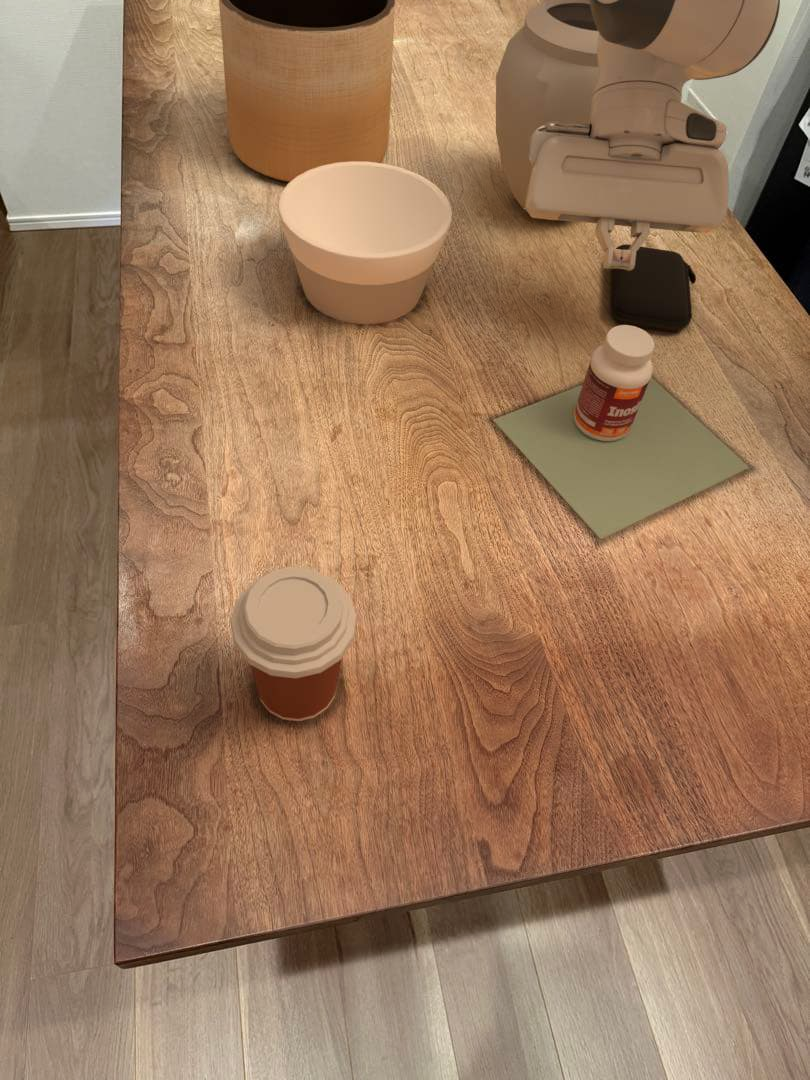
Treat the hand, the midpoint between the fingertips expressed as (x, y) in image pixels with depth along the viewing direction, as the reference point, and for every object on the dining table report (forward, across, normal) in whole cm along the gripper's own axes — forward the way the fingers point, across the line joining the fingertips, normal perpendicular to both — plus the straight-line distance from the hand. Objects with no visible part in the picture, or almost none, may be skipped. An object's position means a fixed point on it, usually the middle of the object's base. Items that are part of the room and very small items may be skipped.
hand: (618, 268), depth 90 cm
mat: (+18, +2, -1) cm, 18 cm away
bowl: (+2, -27, +15) cm, 31 cm away
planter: (-20, -36, +37) cm, 56 cm away
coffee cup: (+40, -28, -23) cm, 54 cm away
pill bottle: (+16, 0, 0) cm, 16 cm away
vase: (-14, -3, +31) cm, 34 cm away
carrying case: (0, +8, +17) cm, 19 cm away
